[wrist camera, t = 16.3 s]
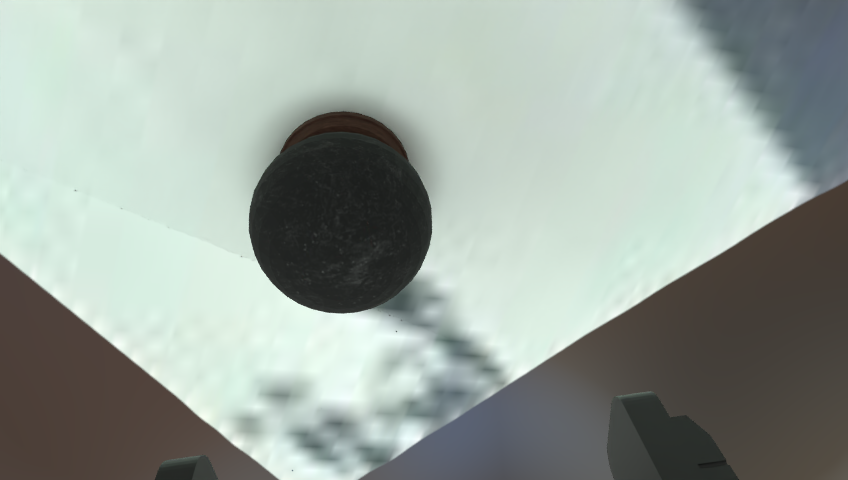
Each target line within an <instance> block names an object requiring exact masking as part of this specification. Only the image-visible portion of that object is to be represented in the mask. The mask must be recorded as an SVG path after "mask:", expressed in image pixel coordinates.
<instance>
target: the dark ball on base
mask: <svg viewBox="0 0 848 480" xmlns="http://www.w3.org/2000/svg"><path fill="white" fill-rule="evenodd" d="M249 234H250V238H251V243H252V247H253V250H254V254H255V256H256V258H257V260H258V263H259V265H260V267H261V269H262V270H263V272H264V273H265V274H266V276H267V277H268V278H269V280H270V281H271V282H272V283H273V284H274V285H275V286H276V287H277V288H278V289H279V290H280V291H281V292H282V293H284V294H285V295H286V296H287V297H289V298H290V299H292V300H294V301H295V302H297V303H299V304H301V305H303V306H306V307H308V308H311V309H314V310H318V311H323V312H327V313H354V312H360V311H364V310H368V309H372V308H374V307H376V306H379V305H381V304H383V303H385V302H387V301H388V300H390V299H391V298H393V297H394V296H396V295H397V294H398V293H399V292H400V291H401V290H402V289H403V288H404V287H405V286H406V285H408V284H409V283H410V282H411V281H412V279H413V278H414V277H415V275H416V274H417V272H418V271H419V270H420V268H421V266H422V263H423V261H424V259H425V256H426V254H427V251H428V249H429V245H430V240H431V235H432V215H431V205H430V202H429V198H428V194H427V191H426V189H425V187H424V185H423V183H422V181H421V179H420V177H419V175H418V174H417V172H416V171H415V169H414V168H413V167H412V166H411V164H410V163H409V162H408V158H407V154H406V152H405V150H404V148H403V146H402V144H401V142H400V141H399V139H398V138H397V137H396V136H395V134H394V133H393V132H392V131H391V130H389V129H388V128H387V127H386V126H385V125H383V124H382V123H380V122H378V121H377V120H375V119H373V118H371V117H368V116H365V115H362V114H359V113H353V112H344V111H343V112H330V113H326V114H322V115H319V116H316V117H314V118H312V119H310V120H308V121H306V122H304V123H303V124H302V125H301V126H299V127H298V128H297V129H295V130H294V132H293V133H292V134H291V135H290V136H289V138H288V139H287V140H286V142H285V144H284V146H283V148H282V150H281V153H280V155H278V156H277V157H276V158H275V159H274V161H273V162H272V163H271V164H270V165H269V167H268V168H267V169H266V170H265V172H264V173H263V175H262V177H261V179H260V181H259V183H258V185H257V186H256V188H255V190H254V194H253V198H252V202H251V206H250V213H249Z"/></svg>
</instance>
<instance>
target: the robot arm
mask: <svg viewBox="0 0 848 480" xmlns="http://www.w3.org/2000/svg"><path fill="white" fill-rule="evenodd" d="M607 453H608V459H609V465H610V469H611V472H612V475H613V478H614V480H739V479H738V478H737V476H736V474H735V473H734V472H733V470H732V468H731V467H730V465H727V463H726V459H725V457H724V456H723V454H722V453H721V451H720V450H719V448H718V447H717V445H716V443H715V442H714V440H713V439H712V437H711V436H710V435H709V434H708V433H707V432H706V431H704V430H703V429H702V428H701V427H700V426H698V425H697V424H696V423H695V422H694V421H692V420H691V419H690V418H689V417H687V416H686V415H684V416H677V417H669V415H668V413H667V411H666V410H665V408H664V407H663V405H662V403H661V401H660V400H659V398H658V397H657V396H656V394H655V393H653V392H644V393H636V394H630V395H622V396H616V397H614V398H613V400H612V404H611V414H610V424H609V433H608V443H607ZM155 480H218V478H217V476H216V474H215V471H214V469H213V467H212V465H211V462H210V461H209V459H208V457H207V456H205V455H200V456H193V457H186V458H179V459H173V460H166V461H164V462H163V463H162V464H161V466H160V467H159V470H158V473H157V475H156V478H155Z"/></svg>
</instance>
